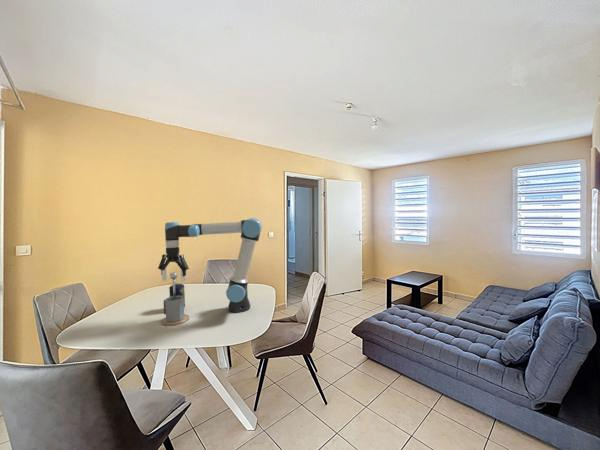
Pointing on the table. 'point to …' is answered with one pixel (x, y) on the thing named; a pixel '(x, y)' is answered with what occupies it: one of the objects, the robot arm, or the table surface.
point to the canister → (178, 291)
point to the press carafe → (174, 312)
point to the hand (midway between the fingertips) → (173, 280)
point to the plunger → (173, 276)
